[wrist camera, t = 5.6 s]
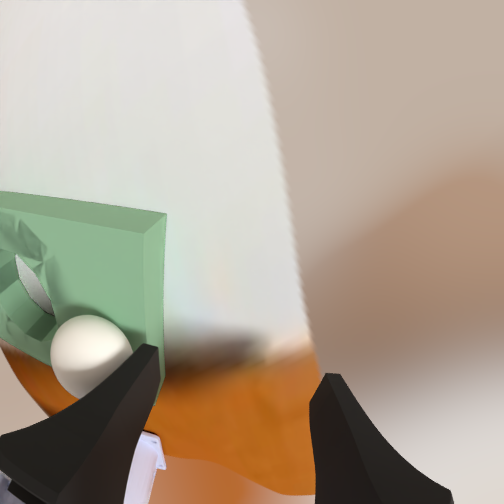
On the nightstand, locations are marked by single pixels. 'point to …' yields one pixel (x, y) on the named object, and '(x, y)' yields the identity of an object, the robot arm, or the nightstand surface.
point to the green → (81, 270)
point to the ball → (87, 353)
